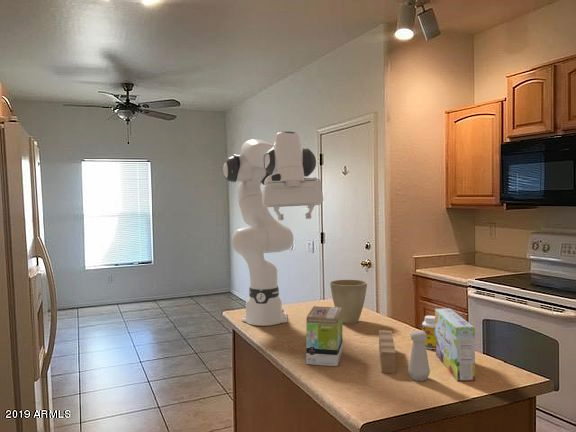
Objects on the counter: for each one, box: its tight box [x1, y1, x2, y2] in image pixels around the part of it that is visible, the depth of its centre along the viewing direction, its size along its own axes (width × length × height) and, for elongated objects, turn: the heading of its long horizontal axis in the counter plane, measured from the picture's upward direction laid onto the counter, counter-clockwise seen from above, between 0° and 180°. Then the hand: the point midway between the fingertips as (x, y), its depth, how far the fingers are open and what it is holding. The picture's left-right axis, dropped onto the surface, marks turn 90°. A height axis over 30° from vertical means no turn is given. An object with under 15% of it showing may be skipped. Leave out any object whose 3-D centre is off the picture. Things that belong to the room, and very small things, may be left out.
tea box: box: [305, 305, 344, 367], centre depth 147 cm, size 15×10×15 cm
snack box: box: [434, 308, 476, 382], centre depth 137 cm, size 21×6×15 cm, turn 178°
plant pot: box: [329, 279, 368, 325], centre depth 190 cm, size 15×15×16 cm
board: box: [378, 329, 397, 374], centre depth 144 cm, size 22×4×6 cm, turn 171°
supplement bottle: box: [421, 315, 436, 350], centre depth 156 cm, size 6×6×10 cm
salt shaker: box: [407, 330, 431, 382], centre depth 129 cm, size 6×6×13 cm
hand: (295, 219), depth 153 cm, fingers open, 8 cm apart
